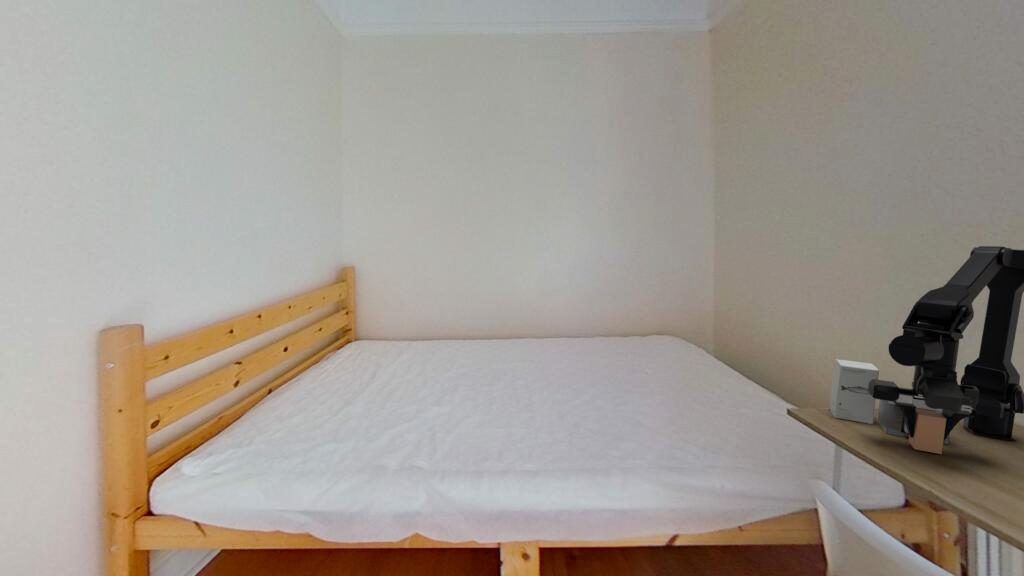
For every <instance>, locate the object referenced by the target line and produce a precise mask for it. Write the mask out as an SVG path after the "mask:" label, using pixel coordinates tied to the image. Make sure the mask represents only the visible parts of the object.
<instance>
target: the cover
mask: <svg viewBox="0 0 1024 576" xmlns="http://www.w3.org/2000/svg"><path fill="white" fill-rule="evenodd" d="M914 421H915V431H914V437H913V438H912V437H910V436H909V437H908V443H909V444H910V445H911V447H912V448H913V449H914V450H917V451H923V452H929V453H933V454H940V455H942V452H943V446H944V444H943V440H944V432H945V425H946V418H945V417H944V416H943V415H942V414H940V413H939V412H934V411H928V410H921V409H916V410H915V413H914ZM902 428H903V429H904V431H905V432H906V433H908V429H907V426H906V423H905V420H904V417H903V421H902Z"/></svg>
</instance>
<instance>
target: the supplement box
mask: <svg viewBox="0 0 1024 576" xmlns="http://www.w3.org/2000/svg"><path fill="white" fill-rule="evenodd" d="M832 373H833V374H832V383H831V391H830V402H829V410H830V412H831V414H832V416H833V418H834V419H843V420H847V421H853V422H859V423H863V424H869V425H873V424H874V417H875V408H876V400H877V399H875V398H873V397H872V396H871V394H870V393H869V392H868V386H869V382H870V381H871V380H872V379H877V380H879V375H880V369H878V368H877V367H876V366H875V365H874V364H873V363H869V362H864V361H863V362H862V361H855V360H854V361H853V360H849V359H848V360H846V359H838V358H835V359H834V364H833V372H832Z"/></svg>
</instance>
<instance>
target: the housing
mask: <svg viewBox="0 0 1024 576" xmlns="http://www.w3.org/2000/svg"><path fill="white" fill-rule="evenodd" d="M913 404H914V405H915V406H916V409H921V410H928V411H934V412H939V413H940V414H942V409H932V408H929V407H928V406H926V405H925V401H924V400H917V399H913ZM877 412H878V413H877V419H876V421H877V423H878V425H879V426H880V427H881V429H882V428H883V429H882V430H883V432H884V431H885V432H884V433H885V434H887V433H888V434H887V435H892V434H893V436H898V435H899V436H898V437H903V436H905V437H904V438H909V433H906V432H905V431H904V429H903V428H902V421H903V414H902V411H901V409H900V407H899V406H897V405H895V404H894V402H893V401H886V400H880V399H879V404H878V411H877ZM950 434H951V432H950V433H949V435H948V436H947V438H946V439H945V440H944V442H943V445H949V440H950Z"/></svg>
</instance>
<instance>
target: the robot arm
mask: <svg viewBox="0 0 1024 576" xmlns="http://www.w3.org/2000/svg"><path fill="white" fill-rule="evenodd" d="M986 287H987V288H988V290H989V292H988V299H987V304H986V309H985V310H986V311H985V316H984V317H985V318H984V322H983V328H982V336H981V340H980V341H981V342H980V347H979V348H980V349H979V353H978V357H977V358H976V359H975V360H973V362H972V363H967V364H966V365H965V366H964V372H963V375H962V377H961V378H960V382H959V383H960V384H959V383H958V372H957V371H956V369H957V361H958V356H959V355H958V354H959V347H960V345H959V344H960V340H962V339H964V335H963V333H964V332H965V330H966V329H967V327H968V326H969V324H970V323H971V322H972V320H973V319H974V317H975V315H974V314H975V310H974V308H973V303H974V301H975V299H977V297H978V296H979V295H980V293H981V292H983V290H984V289H985V288H986ZM1023 294H1024V249H1013V248H1011V247H1005V246H1000V245H999V246H993V245H991V246H990V245H989V246H988V245H986V246H985V245H984V246H983V245H979V246H976V247H973V248H972V250H971V251H970V255H969V258H967V259H966V261H965V262H964V263H963V264H962V265H961V266H960V267H959V269H958V270H956V272H955V273H954V274H953V276H951V277H950V279H948V281H947V282H946V283H945V284H944V285H943V286H940V287H938V288H934V289H931V290H929V291H927V292H926V293H924V295H922V296H921V297H920V298H919V299H918V300H917V301H916V302H915V303H914V305H913V307H911V310H910V312H909V314H908V316H907V318H906V319H905V321H904V323H903V325H902V327H901V328H902V330H903V331H902V335H898V336H895V337H894V338H893V339H892V340H891V341H890V343H889V344H888V353H889V356H890V358H891V359H892V360H893V361H894V362H896V363H897V364H899V365H901V366H904V367H914V372H913V378H912V379H913V381H911V388H906V387H900V386H898V385H897V383H895V382H894V381H891V380H883V379H878V380H877V379H872V380H871V381H870V382H869V386H868V392H869V393H870V394H871V396H872V397H873V398H875V399H876V400H879V401H880V400H886V401H893V402H894V404H895V405H897V406H899V407H900V409H901V411H902V414H903V417H904V420H905V423H906V426H907V429H908V433H909V436H910V437H912V438H913V437H914V431H915V421H914V413H915V410H916V406H915V405H914V404H913V399H917V400H924V401H925V405H926V406H928V407H929V408H932V409H942V415H943V416H944V417H945V418H946V425H945V432H944V440H945V439H946V438H947V436H948V435H949V436H950V434H951V432H952V430H953V429H954V428H955V426H957V424H959V422H961V421H962V420H963V423H962V425H963V426H964V427H965V428H966V429H967V430H968V431H970V432H971V433H972V434H973V435H976V436H977V435H978V436H981V437H988V438H993V439H1001V440H1006V441H1012V442H1013V441H1014V442H1016V440H1017V438H1015V437H1014V436H1013V431H1014V424H1015V423H1014V422H1015V416H1016V414H1021V415H1022V414H1024V391H1023V388H1022V385H1020V380H1021V375H1020V373H1019V372H1018V371H1017V368H1016V367H1015V366H1014V364H1013V362H1012V357H1013V351H1014V350H1013V349H1014V345H1015V341H1016V334H1017V333H1016V332H1017V327H1018V321H1019V317H1020V310H1021V305H1022V299H1023ZM949 433H950V434H949ZM944 440H943V442H944Z"/></svg>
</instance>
